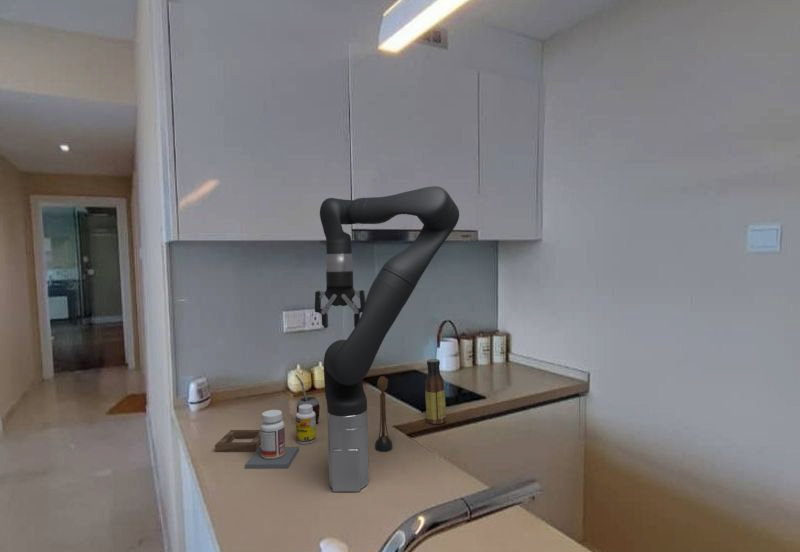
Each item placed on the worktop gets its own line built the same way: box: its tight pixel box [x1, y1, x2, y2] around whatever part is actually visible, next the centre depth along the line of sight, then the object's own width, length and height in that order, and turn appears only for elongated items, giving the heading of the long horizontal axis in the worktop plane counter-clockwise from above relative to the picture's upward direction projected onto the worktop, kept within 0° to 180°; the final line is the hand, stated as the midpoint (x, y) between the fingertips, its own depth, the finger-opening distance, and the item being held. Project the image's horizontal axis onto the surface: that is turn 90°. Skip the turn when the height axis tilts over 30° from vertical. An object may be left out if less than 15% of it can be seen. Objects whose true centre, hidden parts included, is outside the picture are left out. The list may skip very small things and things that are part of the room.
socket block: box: [214, 429, 261, 453], centre depth 133 cm, size 11×11×2 cm
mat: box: [244, 446, 300, 469], centre depth 123 cm, size 11×11×1 cm
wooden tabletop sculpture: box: [374, 376, 394, 453], centre depth 129 cm, size 6×5×20 cm
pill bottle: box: [259, 409, 286, 459], centre depth 123 cm, size 6×6×11 cm
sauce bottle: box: [424, 358, 447, 425], centre depth 148 cm, size 6×6×20 cm
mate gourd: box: [295, 374, 320, 425], centre depth 149 cm, size 8×8×15 cm
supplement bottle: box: [295, 404, 317, 445], centre depth 135 cm, size 6×6×10 cm
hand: (340, 327), depth 132 cm, fingers open, 8 cm apart
